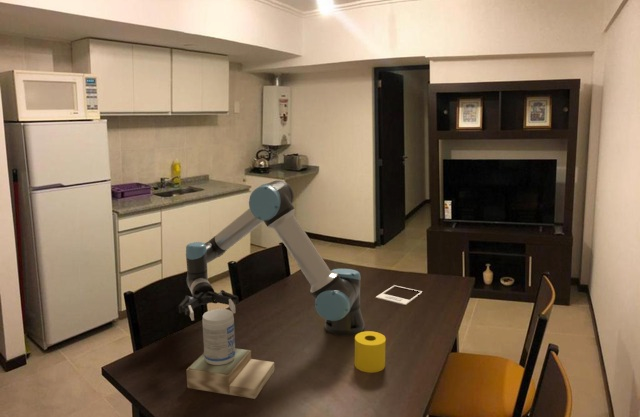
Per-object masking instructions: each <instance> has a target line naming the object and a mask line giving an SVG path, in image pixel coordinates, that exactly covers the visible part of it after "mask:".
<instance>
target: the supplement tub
mask: <svg viewBox="0 0 640 417" xmlns="http://www.w3.org/2000/svg"><path fill="white" fill-rule="evenodd" d="M201 321H202V338H203V353H204V358H205V361H206V362H207V363H209V364H211V365H223V364H227V363H229V362H231V361H232V360H233V359H234V358H235V348H236V336H235V318H234V313H233V312H232V311H231V309H227V308H215V309H210V310H208V311H206V312H204V313H203V315H202V320H201Z"/></svg>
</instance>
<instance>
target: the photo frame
mask: <svg viewBox="0 0 640 417" xmlns="http://www.w3.org/2000/svg"><path fill="white" fill-rule="evenodd" d="M395 287H396V288H401V289H405V290H409V291H413V290H414V291H413V292H417V291H418V292H417V294H416V295H415V296H413V297H412V298H410V299H407V298H403V297H399V296H394V295H391V294H386V293H387V292H389V291H391V290H392V289H394V288H395ZM422 292H423V291H422V290H417V289H413V288H408V287H404V286H399V285H395V284H393V285H392V286H391V287H389V288H387V289H386V290H384V291H383V292H381V293H379V294H378V295H376V296H375V299H379V300H382V301H388V302H391V303H394V304H399V305H404V306H407V305H408V304H409V303H411V302H412V301H413V300H415V299H416V298H417V297H419V296H420V295H422V294H423V293H422ZM418 295H419V296H418Z"/></svg>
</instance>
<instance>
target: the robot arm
mask: <svg viewBox="0 0 640 417" xmlns="http://www.w3.org/2000/svg"><path fill="white" fill-rule="evenodd" d="M294 200H295V192H294V189H293V188H292V186H291V185H290V183H287V182H285V181H284V180H274V181H271V182H268V183H265V184H261V185H259V186H258V187H256V188H255V189H254V190H253V191H252V193H250V196H249V199H248V206H249V208H248V209H247V210H245V211H244V212H243V213H241V214H240V215H239V216H238V217H236V219H234V220H233V221H232V222H231V223H229V224H228V225H227V226H226V227H224V228H223V229H222V230H221V231H219V232H218V233H217V234H216V235H215V236H212V238H211V239H209V240H208V241H207V242H202V241H194V242H189V243H188V244H187V245H186V246H185V259H186V261H185V262H186V269H187V270H186V271H187V273H186V274H187V276H186V285H187V288H189V291H190V293H191V295H192V296H190V295H185V298H184V299H183V300H182V301H181V302H180V304H179V305H178V313H179V314H183V313H184V316H189V317H190V319H191V321H195V314H194V309H195V308H197V307H200V306H202V305H207V304H223V305H226V306H227V305H228V307H229V310H230V311H232V312H233V314H236V308H237V305H238V304H239V296H238V295H235V294H232V293H229V292H226V290H224V289H221V290H220V292H216V291H215V289H214V288H213V286H212V285H211V283H210V281H209V279H208V275H209V274H208V264H209V263H210V262H212V261H214V260H215V259H218V258H220V257H221V256H223V255H224V254H225V253H226V251H227V250H230V248H232V247H233V246H234V245H235V244H237V243H238V242H239V241H240V240H243V238H245V237H246V236H248V235H249V234H250V233H251V232H253V230H254V229H256V228H257V227H259V226H260V225H261V224H263V223H264V224H265V225H266V227H267V228H269V229H273V230H274V231H275V233H276V234H277V236H278V237H279V239H280V241H281V242H282V243H283V244H284V246H285V247H286V249H287V251H288V253H289V254H290V256H291V257H292V259H293V260H294V262H295V263H296V264H297V266H298V268H299V270H301V272H302V274H303V275H304V276H305V278H306V280H307V281H308V283H309V284H310V293H311V295H312V297H313V299H314V300H315V301H314V307H315V311H316V313H317V314H318V315H319V316H320V317H321V318H323V319H324V320H325V321H324V328H325V330H326V331H327V332H328V333H330V334H333V335H336V336H342V337H349V336H350V337H351V336H356V335H357V334H358V333H360V332H364V329H365V321H364V318H363V315H362V311H361V273H360V272H359V271H358V270H356V269H352V268H333V269H332V270H331V269H330V267H329V266H328V264H327V263H326V262H325V260H324V259H323V257H322V256H321V254H320V253H319V251H318V250H317V248H316V247H315V245H314V243H313V242H312V241H311V239H310V237H309V236H308V234H307V233H306V231H305V230H304V229H303V227H302V225H301V224H300V222H299V221H298V219H297V218H296V216H295V213H296V209H295V208H296V207H294V205H293V203H294Z"/></svg>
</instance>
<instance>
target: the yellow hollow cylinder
mask: <svg viewBox="0 0 640 417" xmlns="http://www.w3.org/2000/svg"><path fill="white" fill-rule="evenodd" d="M386 341H387V338H386V336H385V335H384V334H382V333H380V332H376V331H373V330H372V331H369V330H366V331H362V332H360V333H358V334H356V335H354V366H355V368H356V369H357V370H358V371H361V372H363V373H364V372H365V373H379V372H381V371H383V370H384V369H385V367H386V345H387V344H386V343H387V342H386Z"/></svg>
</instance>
